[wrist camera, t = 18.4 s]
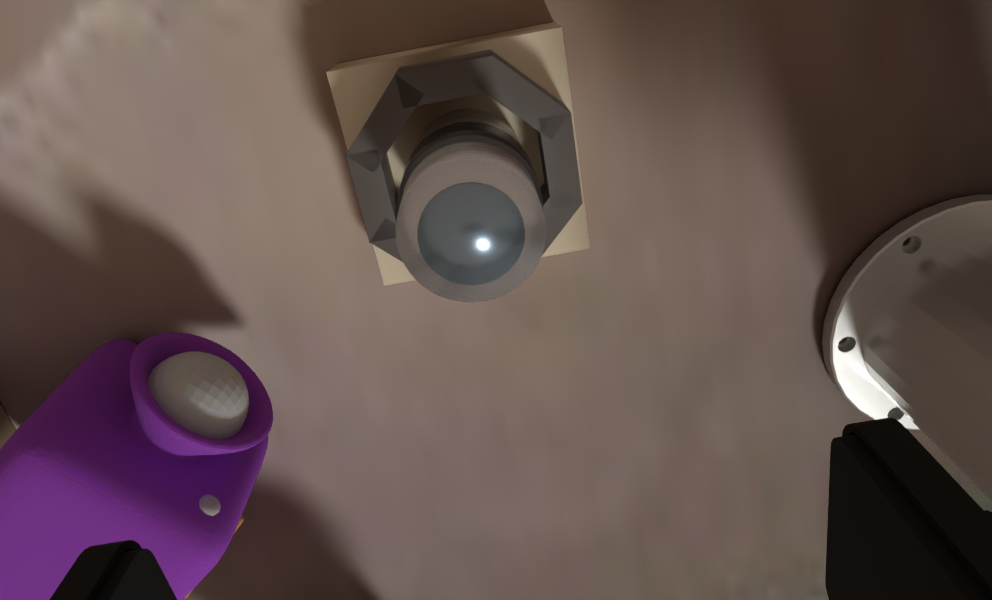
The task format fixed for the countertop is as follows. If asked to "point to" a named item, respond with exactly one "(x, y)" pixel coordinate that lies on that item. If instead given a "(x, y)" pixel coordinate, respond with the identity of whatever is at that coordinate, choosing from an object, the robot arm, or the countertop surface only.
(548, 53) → the mount
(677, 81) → the countertop surface
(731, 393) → the countertop surface
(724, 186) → the countertop surface
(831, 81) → the countertop surface
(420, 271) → the lens
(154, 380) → the toy camera
